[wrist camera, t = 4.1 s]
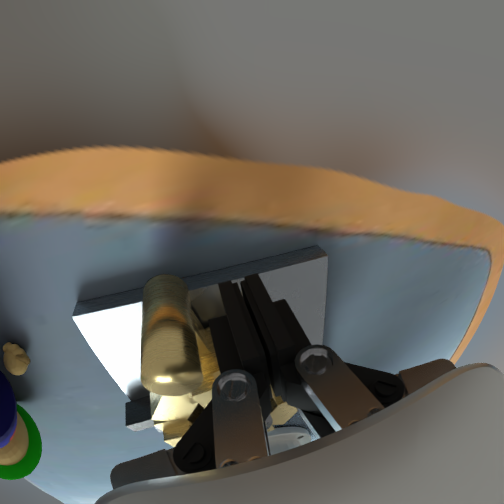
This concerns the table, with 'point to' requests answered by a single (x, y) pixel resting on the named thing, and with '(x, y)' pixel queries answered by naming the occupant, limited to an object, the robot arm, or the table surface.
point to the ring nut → (181, 360)
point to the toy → (16, 422)
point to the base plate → (199, 316)
